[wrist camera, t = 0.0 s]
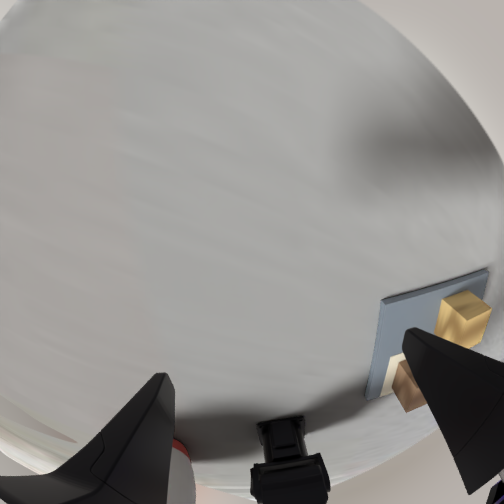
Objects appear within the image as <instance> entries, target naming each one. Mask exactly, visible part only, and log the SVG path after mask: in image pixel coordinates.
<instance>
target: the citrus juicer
mask: <svg viewBox="0 0 504 504" xmlns="http://www.w3.org/2000/svg"><path fill="white" fill-rule="evenodd" d="M195 499H196V488H195V479H194V473H193V469H192V465H191V459H190V457H189V454H188V452H187V450H186V448H185V447H184V446H183V445H182V444H181V443H180V442H179V441H177V440H175V439H174V438H173V445H172V453H171V462H170V472H169V482H168V494H167V504H195V501H196V500H195Z"/></svg>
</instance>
